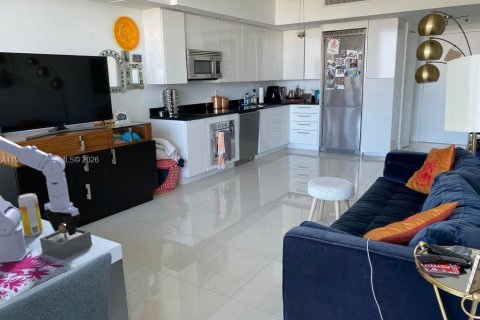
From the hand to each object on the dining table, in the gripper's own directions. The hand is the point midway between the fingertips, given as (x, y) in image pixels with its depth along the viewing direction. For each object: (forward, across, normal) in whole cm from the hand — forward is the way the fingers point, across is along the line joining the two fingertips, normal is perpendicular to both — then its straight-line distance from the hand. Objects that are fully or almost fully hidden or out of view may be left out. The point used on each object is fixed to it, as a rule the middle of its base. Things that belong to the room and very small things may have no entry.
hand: (64, 232), depth 122 cm
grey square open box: (+6, 0, 0) cm, 6 cm away
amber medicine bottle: (+6, +23, -3) cm, 24 cm away
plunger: (+2, 0, 0) cm, 2 cm away
